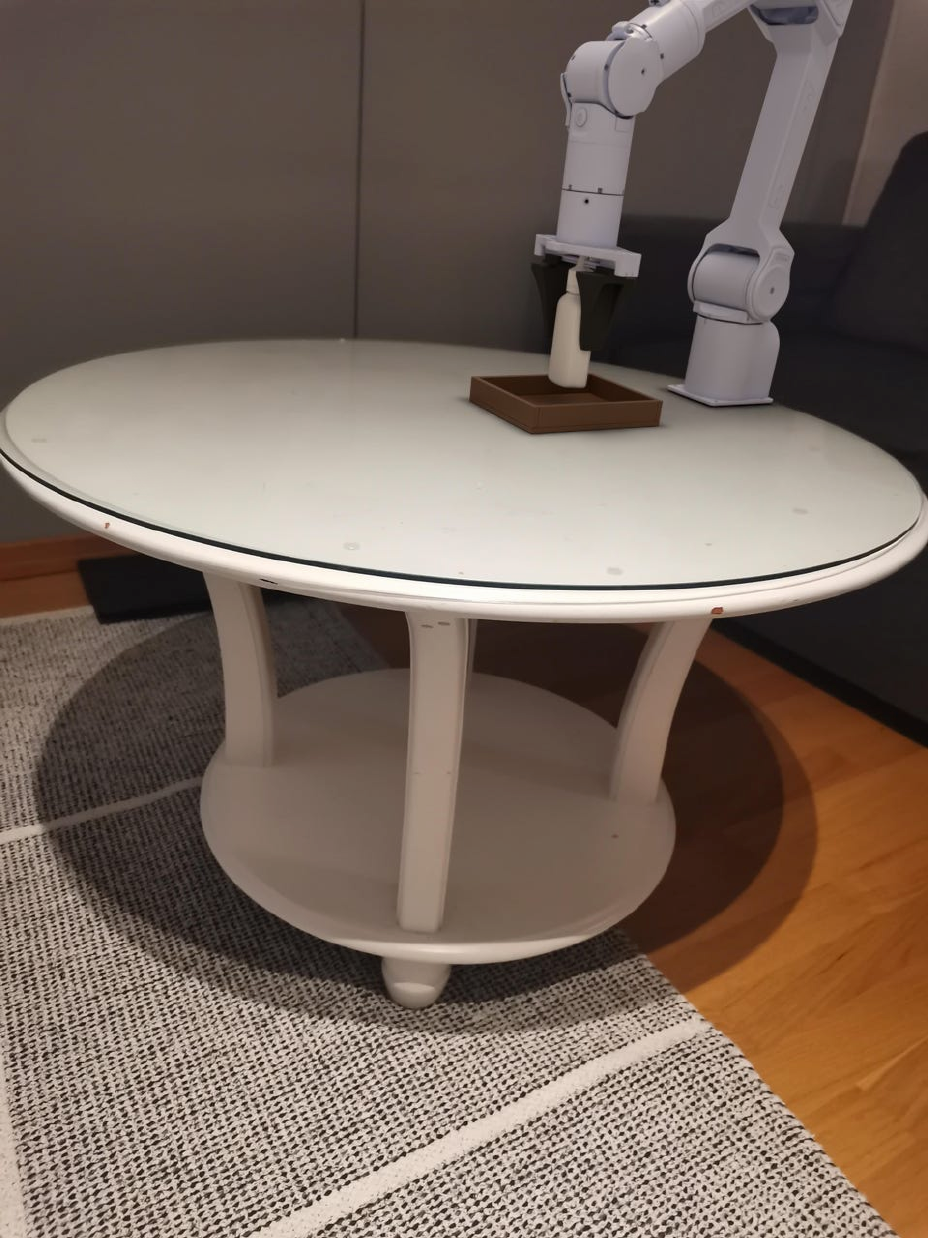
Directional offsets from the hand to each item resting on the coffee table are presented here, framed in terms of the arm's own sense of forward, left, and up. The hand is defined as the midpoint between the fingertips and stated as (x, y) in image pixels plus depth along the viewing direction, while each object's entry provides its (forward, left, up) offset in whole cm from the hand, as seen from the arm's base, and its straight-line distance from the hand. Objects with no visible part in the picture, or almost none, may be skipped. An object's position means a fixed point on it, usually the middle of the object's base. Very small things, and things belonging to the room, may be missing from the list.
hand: (572, 343), depth 92 cm
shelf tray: (0, 0, -7) cm, 7 cm away
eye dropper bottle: (0, 0, -4) cm, 4 cm away
